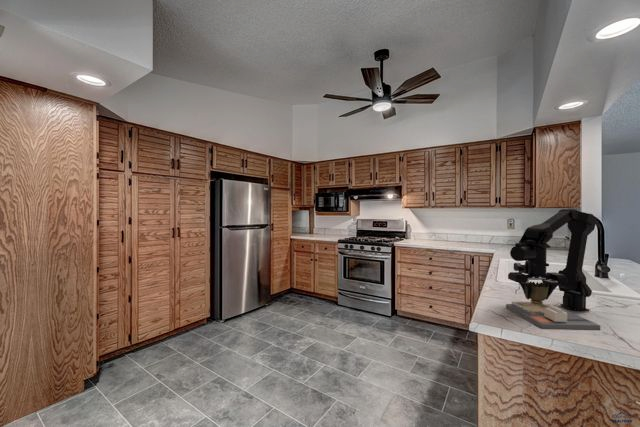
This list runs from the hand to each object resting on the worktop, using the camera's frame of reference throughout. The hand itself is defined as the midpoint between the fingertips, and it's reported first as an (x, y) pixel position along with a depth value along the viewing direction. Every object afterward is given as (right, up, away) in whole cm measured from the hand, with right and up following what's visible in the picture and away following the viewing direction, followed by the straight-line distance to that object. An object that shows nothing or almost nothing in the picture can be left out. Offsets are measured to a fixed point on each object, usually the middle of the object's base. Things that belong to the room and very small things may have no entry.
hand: (536, 299), depth 107 cm
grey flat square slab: (+2, -6, -4) cm, 7 cm away
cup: (0, -2, 0) cm, 2 cm away
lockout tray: (0, -4, 0) cm, 4 cm away
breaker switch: (-1, -4, -9) cm, 10 cm away
